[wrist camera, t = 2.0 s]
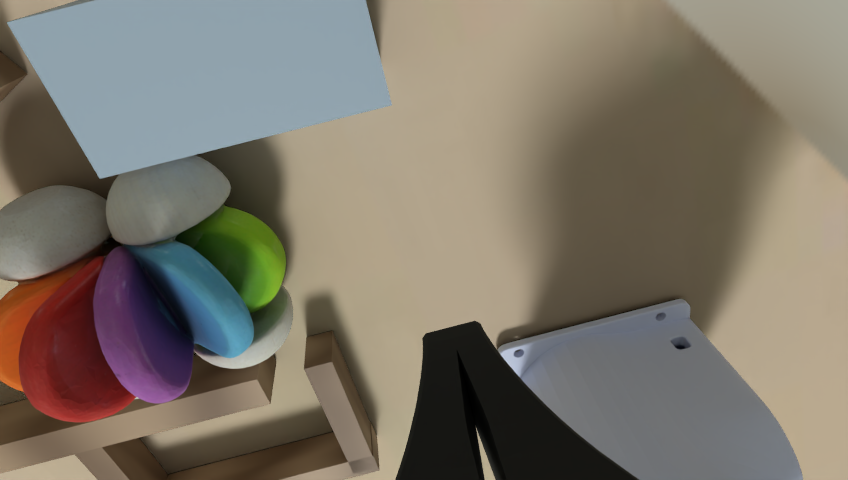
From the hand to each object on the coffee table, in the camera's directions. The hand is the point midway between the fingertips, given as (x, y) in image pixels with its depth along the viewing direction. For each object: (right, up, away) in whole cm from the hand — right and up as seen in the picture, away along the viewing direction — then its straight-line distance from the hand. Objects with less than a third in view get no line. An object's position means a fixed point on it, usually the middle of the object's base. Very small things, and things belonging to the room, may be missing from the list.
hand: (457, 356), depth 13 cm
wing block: (-7, +10, +4) cm, 13 cm away
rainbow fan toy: (-11, +2, +8) cm, 14 cm away
